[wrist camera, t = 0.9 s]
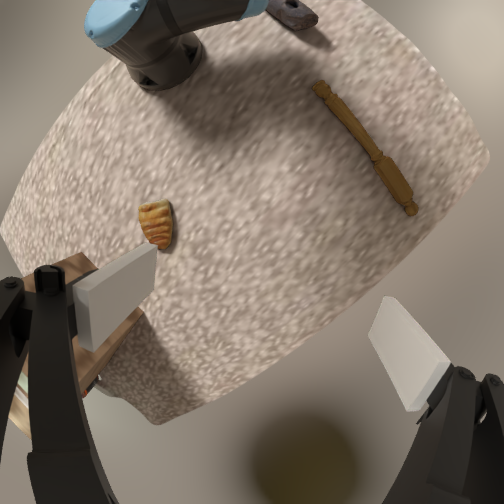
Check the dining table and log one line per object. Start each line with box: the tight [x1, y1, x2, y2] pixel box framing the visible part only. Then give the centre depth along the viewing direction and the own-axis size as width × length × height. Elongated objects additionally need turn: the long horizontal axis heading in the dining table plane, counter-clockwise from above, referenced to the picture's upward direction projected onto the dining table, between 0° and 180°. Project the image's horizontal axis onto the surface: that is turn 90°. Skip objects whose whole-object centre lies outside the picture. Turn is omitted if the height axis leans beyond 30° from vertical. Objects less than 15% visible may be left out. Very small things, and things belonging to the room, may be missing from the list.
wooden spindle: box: [312, 80, 418, 216], centre depth 43 cm, size 3×3×30 cm
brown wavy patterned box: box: [14, 252, 143, 409], centre depth 41 cm, size 20×24×31 cm
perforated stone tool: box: [266, 0, 318, 31], centre depth 35 cm, size 15×5×7 cm, turn 41°
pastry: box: [138, 199, 173, 249], centre depth 48 cm, size 9×7×4 cm
